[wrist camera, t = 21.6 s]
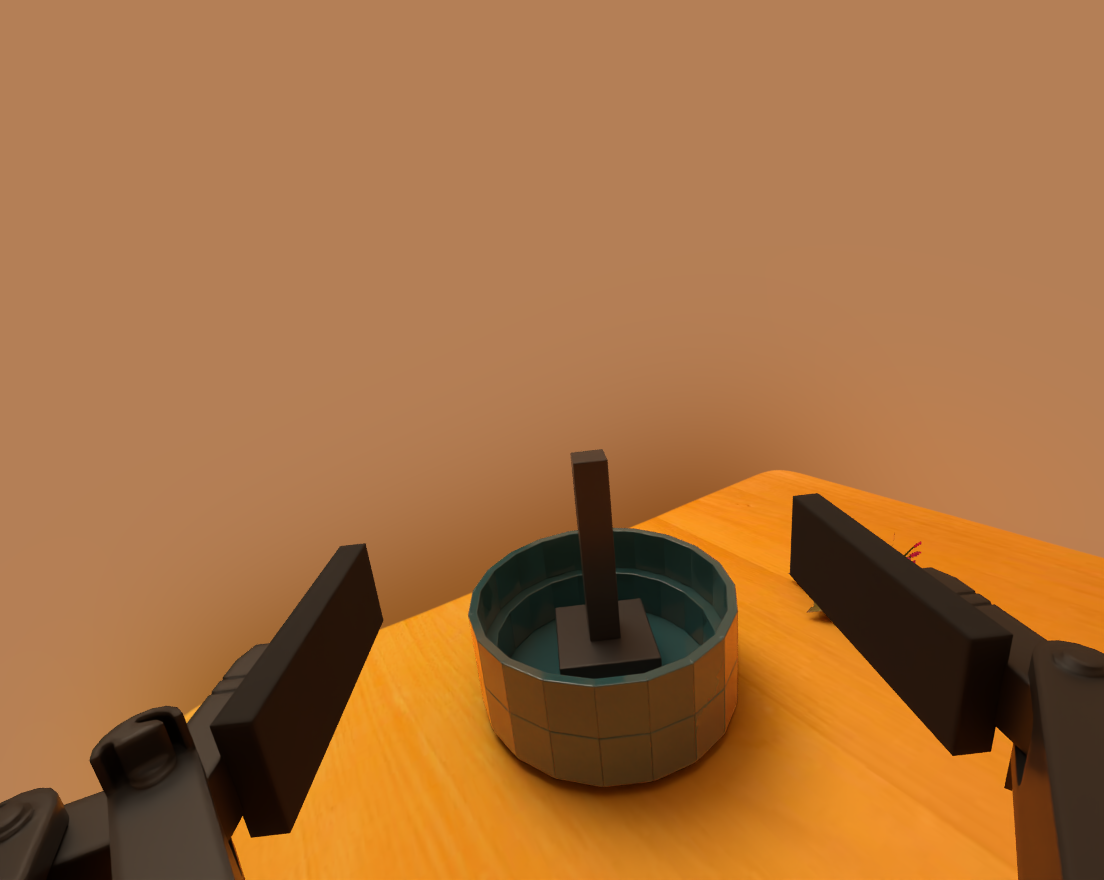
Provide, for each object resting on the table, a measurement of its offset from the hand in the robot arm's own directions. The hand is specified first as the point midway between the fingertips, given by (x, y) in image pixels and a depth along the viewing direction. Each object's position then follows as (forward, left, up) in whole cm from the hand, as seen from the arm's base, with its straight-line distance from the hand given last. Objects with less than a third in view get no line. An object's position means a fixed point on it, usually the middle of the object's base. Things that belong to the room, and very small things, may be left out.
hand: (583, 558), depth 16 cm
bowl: (+1, +12, -15) cm, 19 cm away
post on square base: (+1, +12, -15) cm, 19 cm away
